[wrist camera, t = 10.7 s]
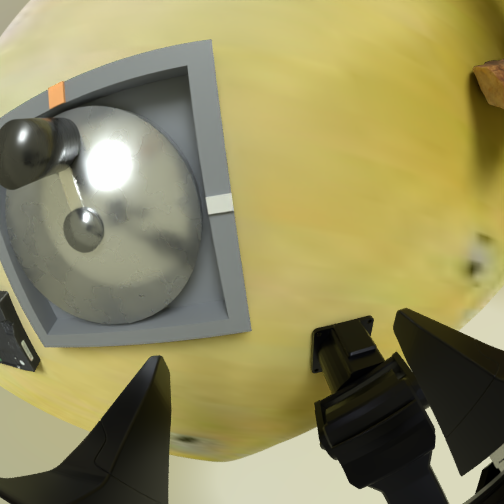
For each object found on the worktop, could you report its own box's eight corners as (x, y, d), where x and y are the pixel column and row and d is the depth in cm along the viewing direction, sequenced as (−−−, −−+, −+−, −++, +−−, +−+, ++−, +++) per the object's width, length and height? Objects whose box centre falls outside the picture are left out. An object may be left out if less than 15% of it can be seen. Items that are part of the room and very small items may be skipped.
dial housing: (247, 307, 23) (252, 333, 20) (55, 328, 22) (43, 348, 19) (212, 53, 14) (211, 37, 11) (-7, 135, 13) (-31, 139, 10)
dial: (227, 286, 21) (234, 351, 15) (67, 321, 21) (38, 374, 14) (170, 74, 14) (143, 42, 8) (0, 161, 14) (-57, 181, 7)
